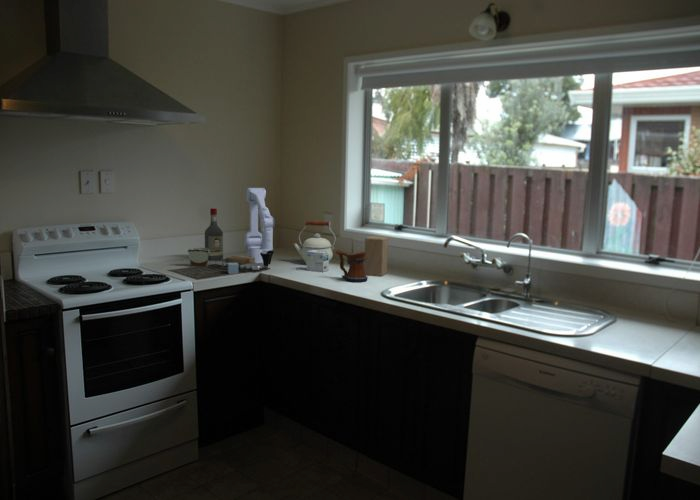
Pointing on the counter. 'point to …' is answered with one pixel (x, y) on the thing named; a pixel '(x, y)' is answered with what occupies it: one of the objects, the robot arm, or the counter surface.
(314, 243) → the kettle
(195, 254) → the food container
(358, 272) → the mug
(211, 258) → the liquor
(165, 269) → the counter surface
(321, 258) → the light bulb box
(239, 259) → the slab
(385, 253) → the wooden block
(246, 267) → the roller track
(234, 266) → the block
